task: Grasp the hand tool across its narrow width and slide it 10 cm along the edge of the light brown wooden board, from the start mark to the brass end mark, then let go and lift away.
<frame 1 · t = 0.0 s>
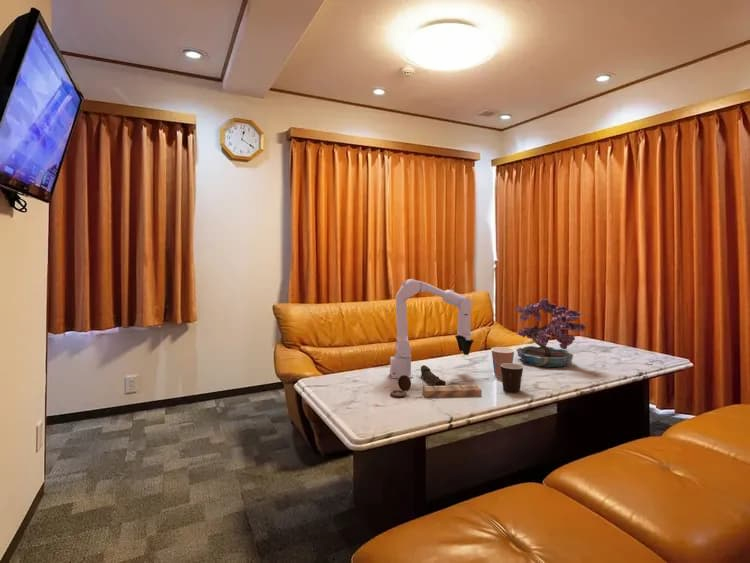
hand: (463, 352, 187), 10 cm above the table, tool pointing down, fingers open, 7 cm apart
coffee mug: (509, 391, 165), on the table
coffee cup: (502, 376, 186), on the table
light brown wooden board: (451, 394, 162), on the table
bonsai tree: (548, 364, 206), on the table
hand tool: (429, 384, 176), on the table
compass: (401, 396, 160), on the table
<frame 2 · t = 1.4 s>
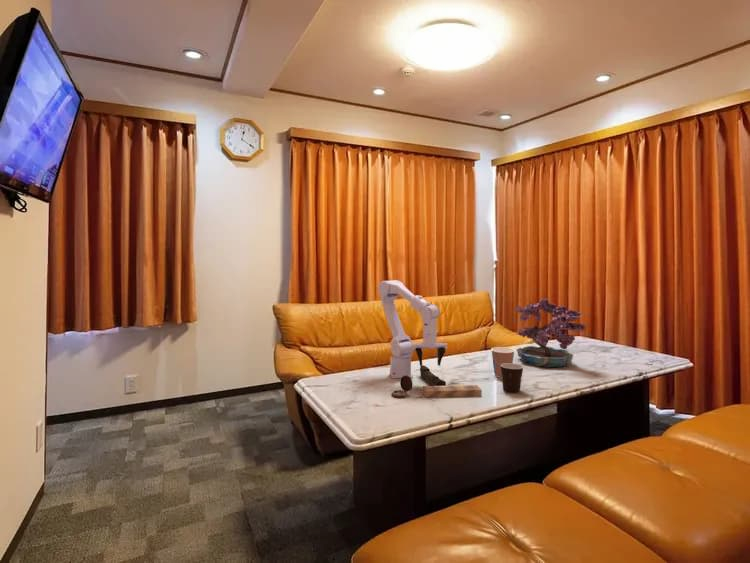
hand: (429, 365, 175), 8 cm above the table, tool pointing down, fingers open, 7 cm apart
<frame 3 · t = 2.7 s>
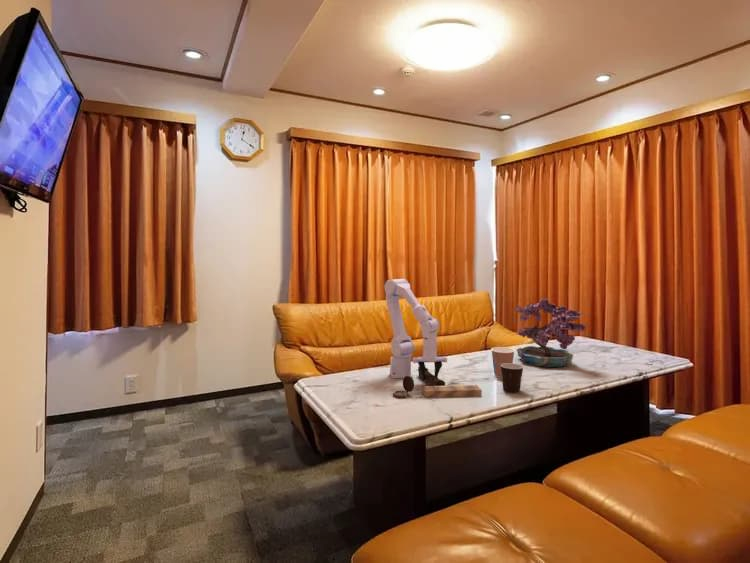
hand: (429, 379, 175), 2 cm above the table, tool pointing down, fingers closed on hand tool, 4 cm apart
hand tool: (427, 384, 176), on the table, touching gripper
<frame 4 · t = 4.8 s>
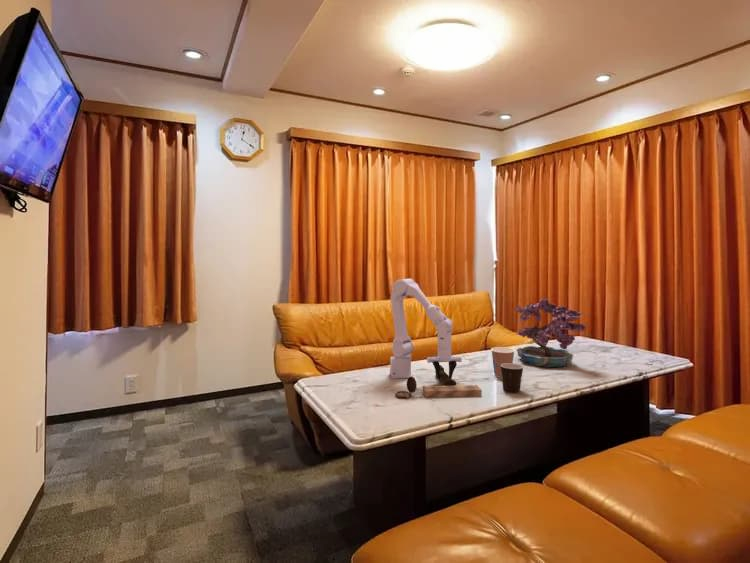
hand: (444, 378, 175), 2 cm above the table, tool pointing down, fingers open, 4 cm apart
hand tool: (441, 383, 176), on the table, touching gripper
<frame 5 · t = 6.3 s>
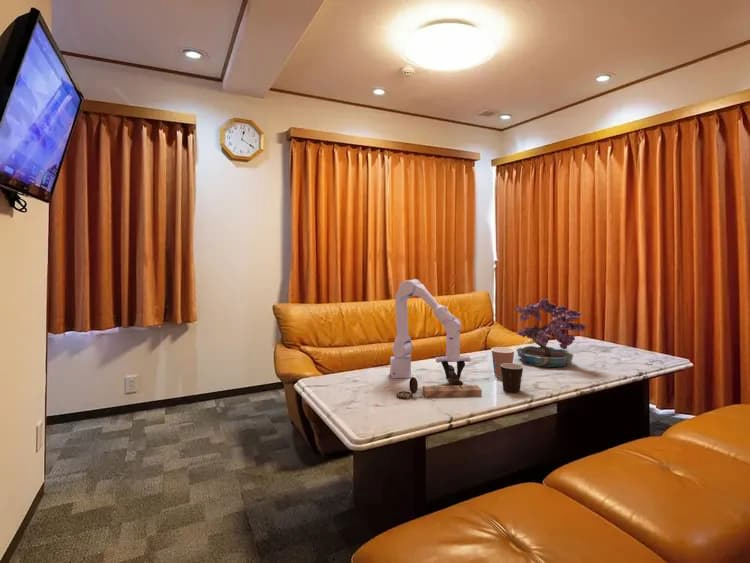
hand: (452, 378, 176), 2 cm above the table, tool pointing down, fingers open, 4 cm apart
hand tool: (451, 383, 176), on the table, touching gripper
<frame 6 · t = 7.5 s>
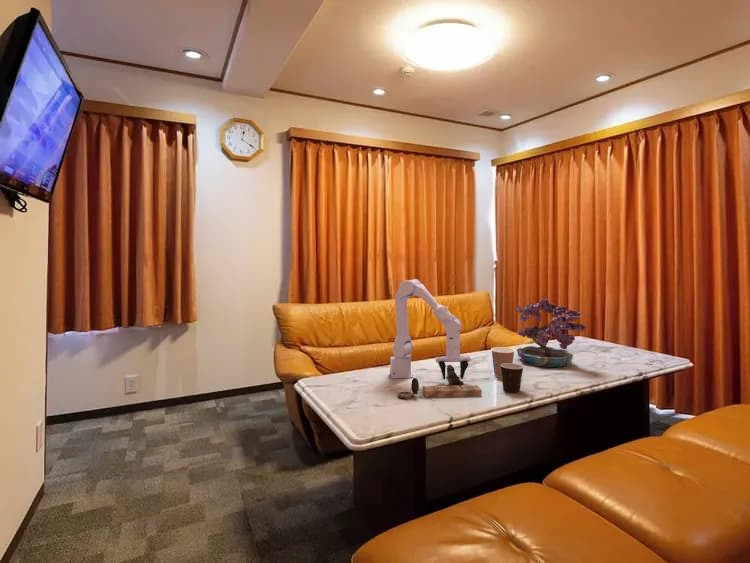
hand: (452, 378, 176), 2 cm above the table, tool pointing down, fingers open, 7 cm apart
hand tool: (451, 383, 176), on the table
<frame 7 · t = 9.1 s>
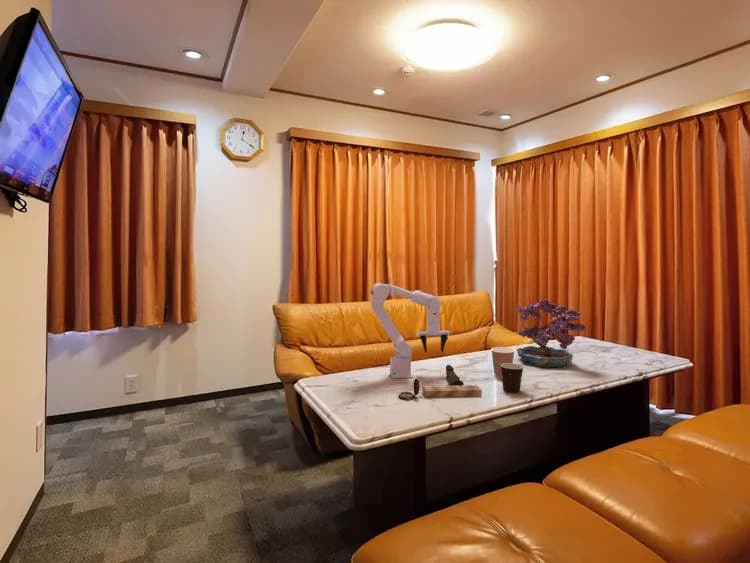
hand: (433, 351, 189), 10 cm above the table, tool pointing down, fingers open, 7 cm apart
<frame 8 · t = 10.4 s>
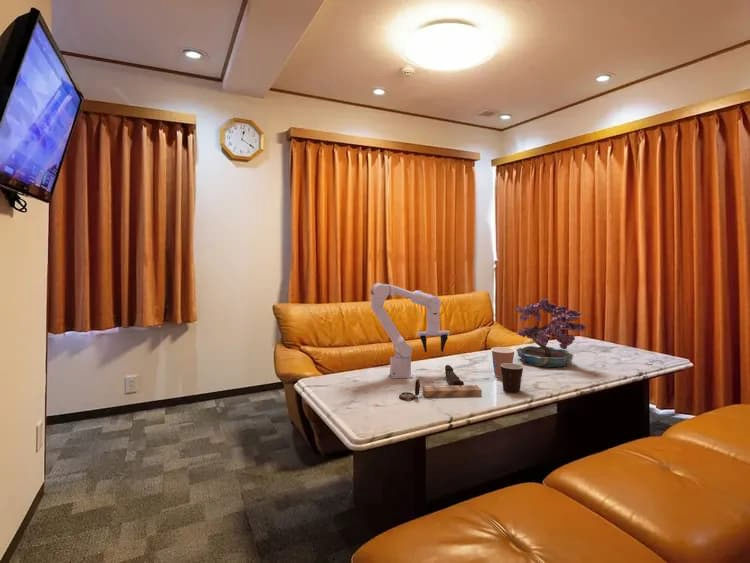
hand: (433, 351, 189), 10 cm above the table, tool pointing down, fingers open, 7 cm apart
at the end: hand tool 1.2 cm from the target spot, on the table; hand tool moved 9.1 cm from its start; the gripper is holding nothing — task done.
